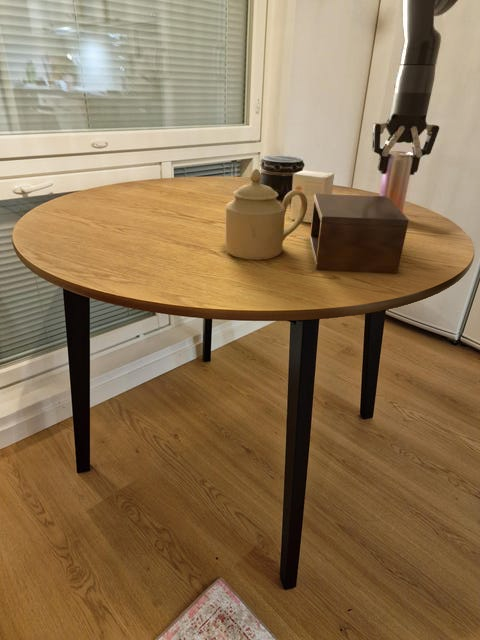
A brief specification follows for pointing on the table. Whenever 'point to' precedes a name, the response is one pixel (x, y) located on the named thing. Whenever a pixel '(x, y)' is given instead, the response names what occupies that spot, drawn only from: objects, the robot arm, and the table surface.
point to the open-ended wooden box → (357, 233)
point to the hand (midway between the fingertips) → (396, 173)
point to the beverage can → (397, 177)
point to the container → (280, 173)
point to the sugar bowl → (258, 220)
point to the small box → (309, 190)
